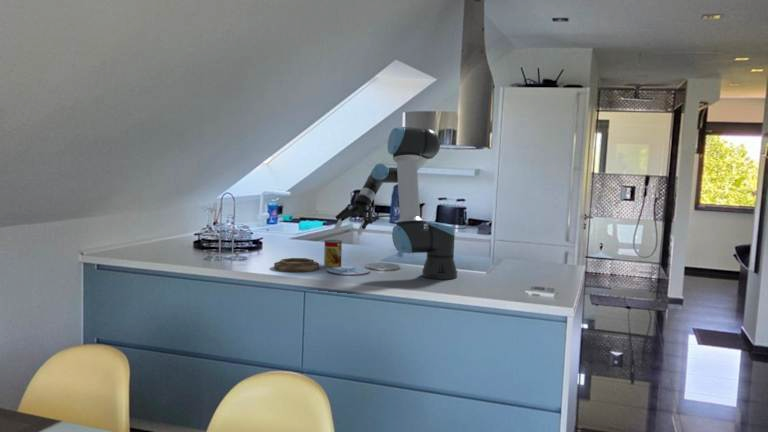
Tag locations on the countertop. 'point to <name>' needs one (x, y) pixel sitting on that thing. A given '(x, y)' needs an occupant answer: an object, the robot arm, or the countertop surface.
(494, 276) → the countertop surface
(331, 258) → the canned food
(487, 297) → the countertop surface
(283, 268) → the hub trivet
